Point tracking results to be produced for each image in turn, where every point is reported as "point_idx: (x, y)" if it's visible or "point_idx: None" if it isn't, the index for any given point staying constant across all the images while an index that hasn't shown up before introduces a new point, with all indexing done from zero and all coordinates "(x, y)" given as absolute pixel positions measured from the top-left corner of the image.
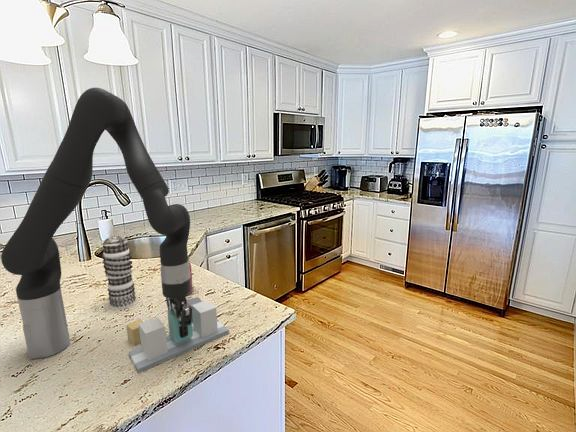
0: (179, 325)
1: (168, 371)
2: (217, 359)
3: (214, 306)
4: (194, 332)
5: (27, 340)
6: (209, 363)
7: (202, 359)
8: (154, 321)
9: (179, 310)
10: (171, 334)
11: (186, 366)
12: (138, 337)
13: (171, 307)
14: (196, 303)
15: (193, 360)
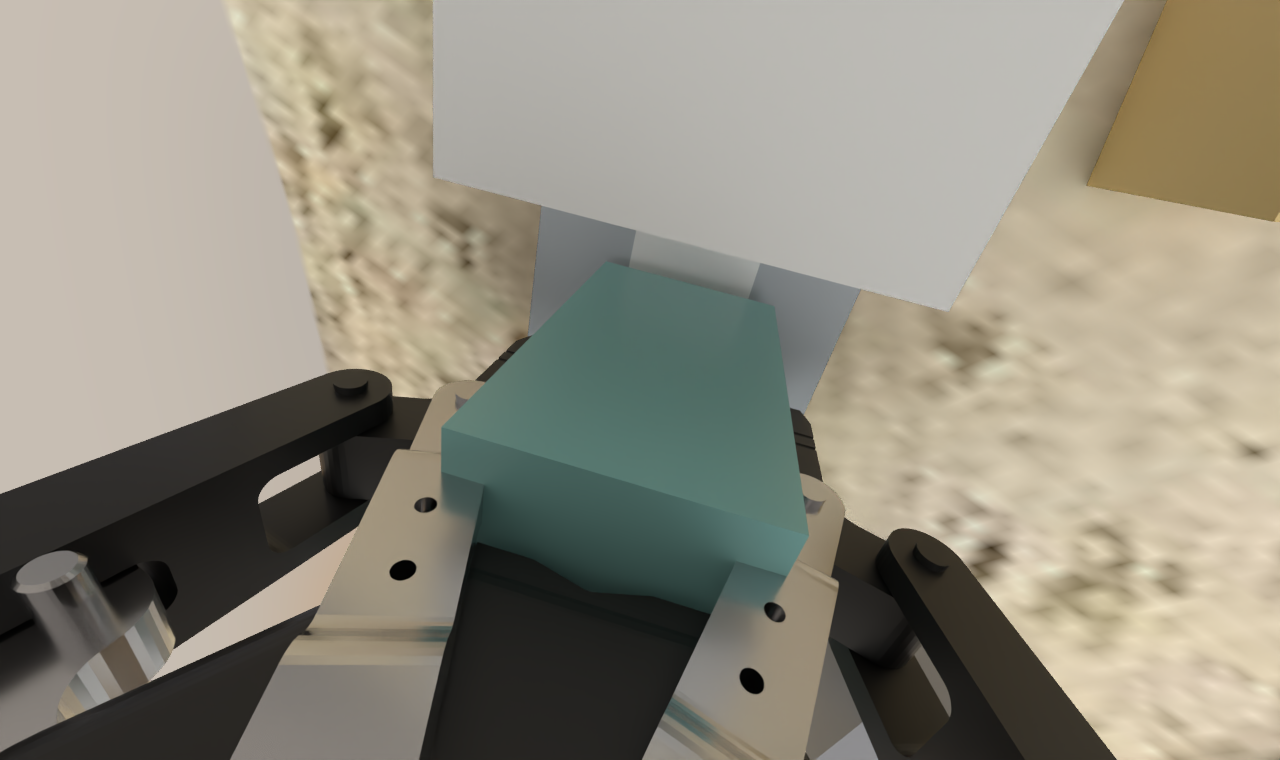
0: (464, 389)
1: (423, 12)
2: (328, 351)
3: None
4: None
5: None
6: (321, 295)
7: (388, 295)
8: (839, 132)
9: (279, 625)
10: (707, 306)
11: (387, 167)
12: (1210, 48)
13: (691, 652)
14: (863, 751)
15: (418, 249)
